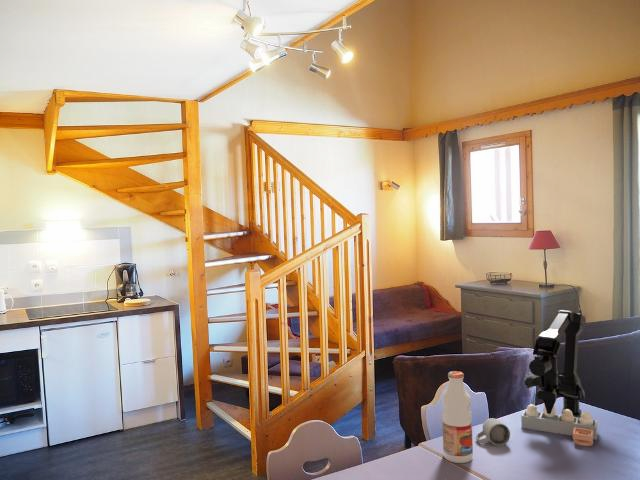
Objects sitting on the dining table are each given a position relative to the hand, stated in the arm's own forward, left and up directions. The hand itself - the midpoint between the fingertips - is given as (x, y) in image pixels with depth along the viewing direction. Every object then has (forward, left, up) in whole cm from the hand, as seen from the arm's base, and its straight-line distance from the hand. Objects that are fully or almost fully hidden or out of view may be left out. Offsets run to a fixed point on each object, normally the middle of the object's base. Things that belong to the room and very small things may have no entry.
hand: (549, 411), depth 192 cm
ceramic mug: (+21, -16, -7) cm, 27 cm away
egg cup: (+8, +11, -6) cm, 15 cm away
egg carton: (0, +3, -6) cm, 7 cm away
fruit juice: (+38, -24, -7) cm, 45 cm away
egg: (0, 0, -2) cm, 2 cm away
